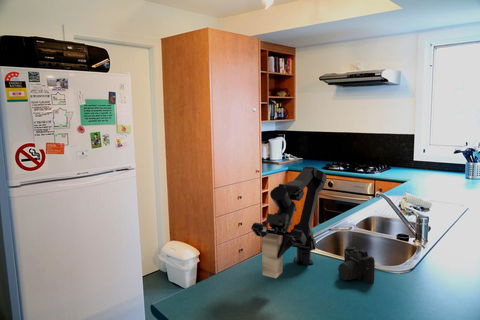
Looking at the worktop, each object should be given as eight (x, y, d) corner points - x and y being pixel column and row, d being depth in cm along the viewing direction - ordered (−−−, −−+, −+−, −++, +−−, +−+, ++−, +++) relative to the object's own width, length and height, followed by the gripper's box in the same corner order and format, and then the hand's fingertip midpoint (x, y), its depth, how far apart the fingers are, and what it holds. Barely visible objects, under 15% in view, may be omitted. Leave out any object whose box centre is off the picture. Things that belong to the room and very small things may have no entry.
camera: (329, 271, 138) (329, 246, 137) (351, 266, 142) (352, 242, 141) (353, 288, 126) (354, 260, 124) (377, 282, 130) (378, 255, 128)
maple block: (269, 269, 126) (269, 233, 124) (282, 272, 123) (282, 235, 121) (262, 274, 122) (262, 237, 120) (276, 278, 119) (275, 240, 117)
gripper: (253, 200, 127) (237, 240, 119) (303, 207, 117) (289, 251, 110) (263, 215, 135) (249, 254, 127) (311, 223, 125) (299, 266, 118)
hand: (270, 256), depth 120 cm, fingers closed on maple block, 5 cm apart
